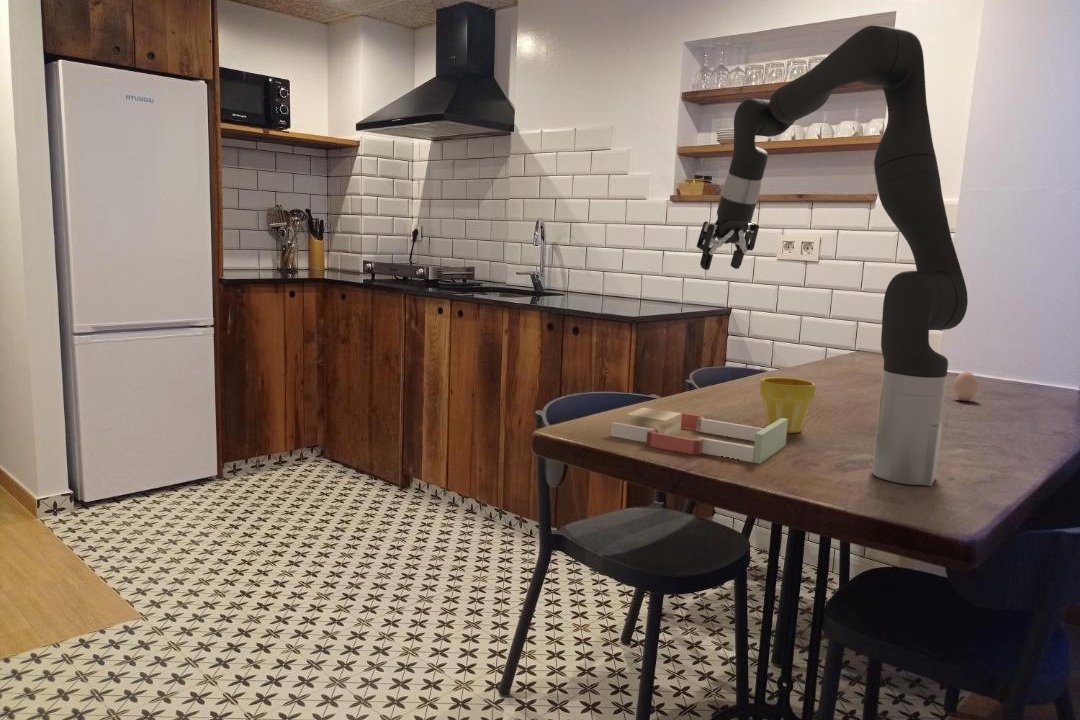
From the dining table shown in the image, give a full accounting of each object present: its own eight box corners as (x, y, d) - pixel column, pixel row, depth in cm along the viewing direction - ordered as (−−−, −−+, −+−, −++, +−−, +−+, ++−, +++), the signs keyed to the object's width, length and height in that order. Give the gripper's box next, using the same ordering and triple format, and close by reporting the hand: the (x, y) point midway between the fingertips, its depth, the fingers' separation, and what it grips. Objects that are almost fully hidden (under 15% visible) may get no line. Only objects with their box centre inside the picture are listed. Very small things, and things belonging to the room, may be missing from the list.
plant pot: (765, 420, 169) (769, 374, 168) (816, 428, 164) (820, 380, 163) (750, 429, 160) (754, 381, 159) (803, 438, 155) (808, 388, 154)
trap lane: (788, 443, 151) (791, 416, 150) (755, 466, 134) (758, 437, 133) (650, 419, 165) (652, 395, 165) (605, 438, 149) (606, 411, 148)
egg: (962, 403, 199) (966, 373, 198) (946, 398, 204) (950, 369, 203) (980, 402, 200) (984, 373, 199) (964, 398, 205) (968, 369, 204)
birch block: (680, 433, 156) (681, 413, 155) (664, 441, 149) (665, 420, 148) (642, 427, 160) (643, 407, 159) (624, 434, 153) (625, 414, 152)
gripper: (724, 202, 165) (704, 276, 172) (776, 202, 172) (755, 273, 179) (702, 190, 171) (684, 262, 178) (753, 191, 178) (733, 260, 185)
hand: (719, 268), depth 179 cm, fingers open, 8 cm apart
